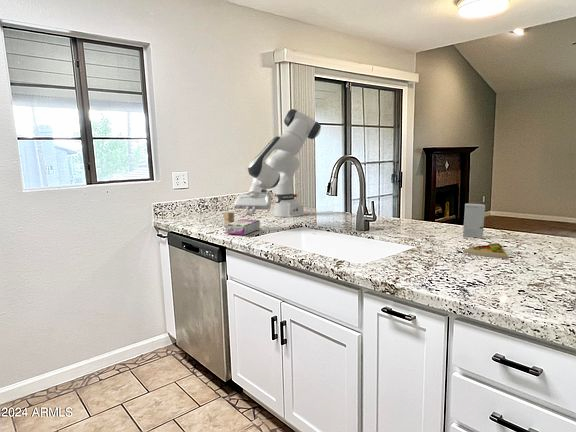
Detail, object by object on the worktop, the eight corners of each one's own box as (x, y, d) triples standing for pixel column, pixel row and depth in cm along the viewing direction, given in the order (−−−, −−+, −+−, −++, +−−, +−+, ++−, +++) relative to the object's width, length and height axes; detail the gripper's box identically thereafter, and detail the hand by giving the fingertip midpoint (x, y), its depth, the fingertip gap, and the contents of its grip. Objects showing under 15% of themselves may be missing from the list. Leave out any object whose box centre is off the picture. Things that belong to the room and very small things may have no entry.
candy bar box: (242, 228, 208) (225, 233, 194) (242, 219, 208) (224, 223, 193) (260, 229, 204) (244, 235, 189) (260, 220, 203) (243, 225, 188)
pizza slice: (461, 255, 147) (461, 247, 146) (478, 245, 162) (478, 238, 161) (506, 261, 136) (507, 253, 136) (520, 250, 151) (521, 242, 151)
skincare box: (462, 237, 174) (464, 204, 171) (462, 234, 179) (464, 203, 177) (483, 238, 170) (485, 205, 168) (483, 235, 176) (484, 203, 173)
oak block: (230, 226, 218) (229, 212, 217) (234, 226, 215) (233, 212, 214) (224, 227, 215) (223, 212, 214) (228, 227, 213) (228, 213, 211)
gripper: (237, 190, 211) (229, 210, 204) (271, 190, 204) (264, 211, 197) (241, 197, 216) (233, 217, 209) (274, 197, 209) (268, 218, 202)
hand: (249, 214), depth 203 cm, fingers closed
